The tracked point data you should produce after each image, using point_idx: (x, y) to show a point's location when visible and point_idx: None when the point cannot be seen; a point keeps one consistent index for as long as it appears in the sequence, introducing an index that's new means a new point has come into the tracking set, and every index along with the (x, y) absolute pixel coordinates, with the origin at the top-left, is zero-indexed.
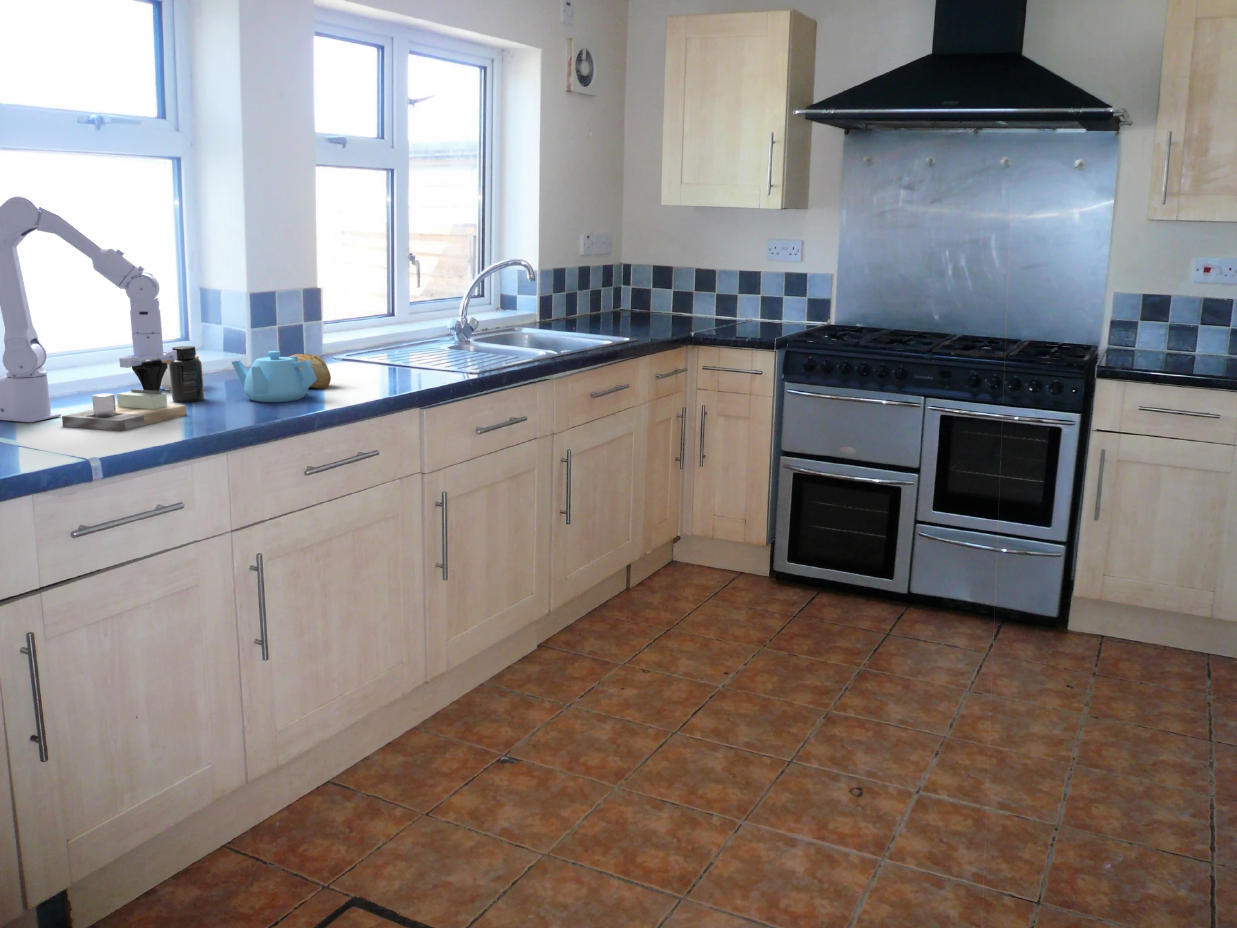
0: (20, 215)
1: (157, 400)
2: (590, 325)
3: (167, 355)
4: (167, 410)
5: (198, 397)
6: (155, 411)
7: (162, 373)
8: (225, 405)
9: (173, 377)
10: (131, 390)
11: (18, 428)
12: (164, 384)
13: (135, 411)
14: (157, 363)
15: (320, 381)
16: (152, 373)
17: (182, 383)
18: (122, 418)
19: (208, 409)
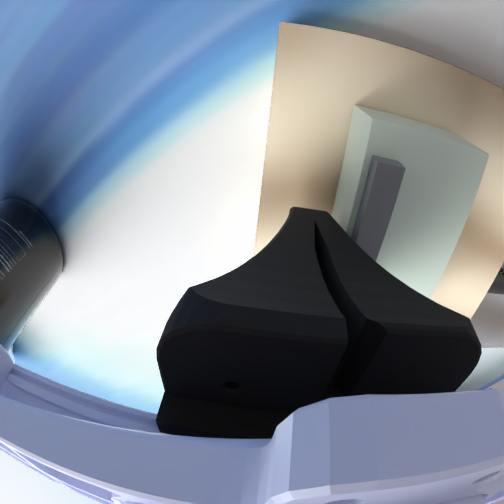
0: None
1: (442, 134)
2: None
3: (85, 436)
4: (438, 60)
5: (13, 203)
6: (491, 101)
7: (269, 274)
8: (27, 53)
9: (18, 318)
10: None
11: (501, 374)
12: (9, 352)
13: (490, 194)
14: (240, 407)
15: None
16: (429, 303)
17: (14, 271)
18: None
19: (113, 36)
